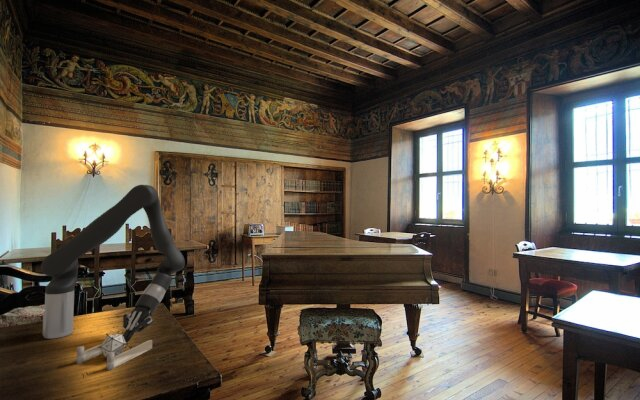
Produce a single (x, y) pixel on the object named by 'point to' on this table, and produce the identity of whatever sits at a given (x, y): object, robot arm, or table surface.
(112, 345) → the game die
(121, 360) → the chute
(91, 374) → the table surface
